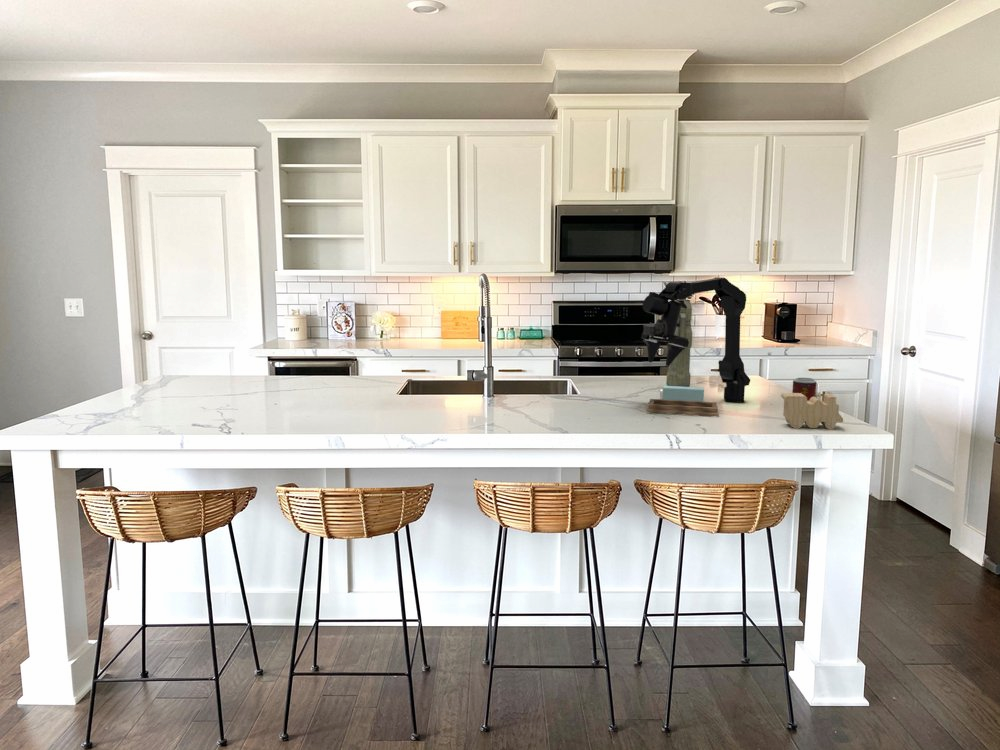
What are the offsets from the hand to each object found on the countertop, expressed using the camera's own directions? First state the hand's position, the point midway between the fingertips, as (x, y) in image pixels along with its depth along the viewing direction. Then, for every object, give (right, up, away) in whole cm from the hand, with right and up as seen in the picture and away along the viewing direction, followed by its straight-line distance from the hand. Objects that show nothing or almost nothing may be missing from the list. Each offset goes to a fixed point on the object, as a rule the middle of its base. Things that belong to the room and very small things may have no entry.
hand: (658, 363), depth 242 cm
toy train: (+41, -20, -22) cm, 51 cm away
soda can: (+45, -17, -7) cm, 49 cm away
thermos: (+16, -10, +37) cm, 41 cm away
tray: (+8, -16, 0) cm, 18 cm away
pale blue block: (+12, -14, +14) cm, 23 cm away
